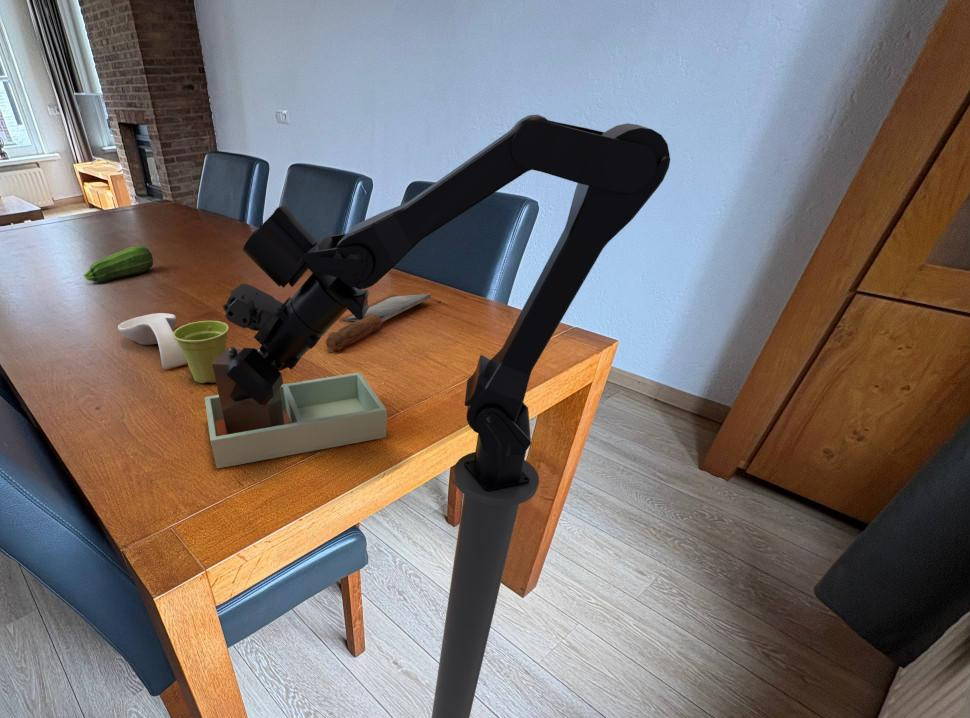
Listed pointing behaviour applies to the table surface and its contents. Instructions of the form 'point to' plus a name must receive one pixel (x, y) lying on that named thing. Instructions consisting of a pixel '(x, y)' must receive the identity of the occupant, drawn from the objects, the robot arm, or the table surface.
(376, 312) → the meat cleaver
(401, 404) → the table surface
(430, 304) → the table surface
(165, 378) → the table surface
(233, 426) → the knife block
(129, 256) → the vegetable
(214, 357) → the plant pot
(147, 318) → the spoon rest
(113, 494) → the table surface
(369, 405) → the divided tray
